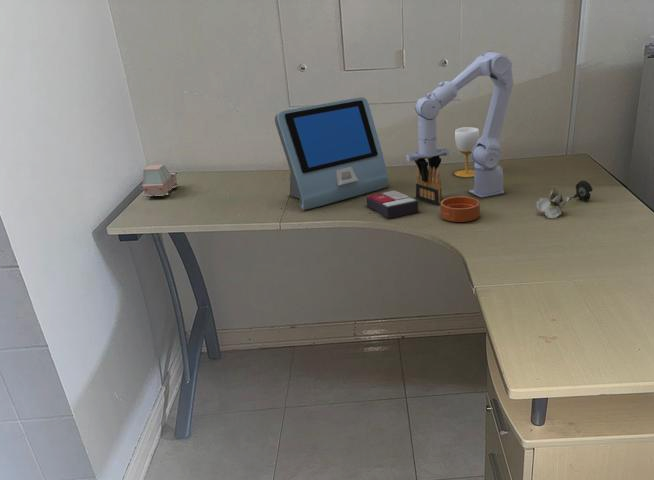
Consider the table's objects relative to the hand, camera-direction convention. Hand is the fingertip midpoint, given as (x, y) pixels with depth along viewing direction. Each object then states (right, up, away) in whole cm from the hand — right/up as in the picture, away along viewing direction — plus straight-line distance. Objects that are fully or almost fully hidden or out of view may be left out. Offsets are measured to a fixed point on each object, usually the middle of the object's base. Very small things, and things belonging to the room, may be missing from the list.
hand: (428, 180), depth 209 cm
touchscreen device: (-32, -2, +13) cm, 35 cm away
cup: (+15, +9, +29) cm, 34 cm away
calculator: (-12, -10, -3) cm, 16 cm away
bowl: (+10, -14, -10) cm, 20 cm away
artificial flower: (+43, -11, -7) cm, 45 cm away
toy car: (-95, 0, +19) cm, 97 cm away
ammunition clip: (0, -6, +4) cm, 7 cm away
